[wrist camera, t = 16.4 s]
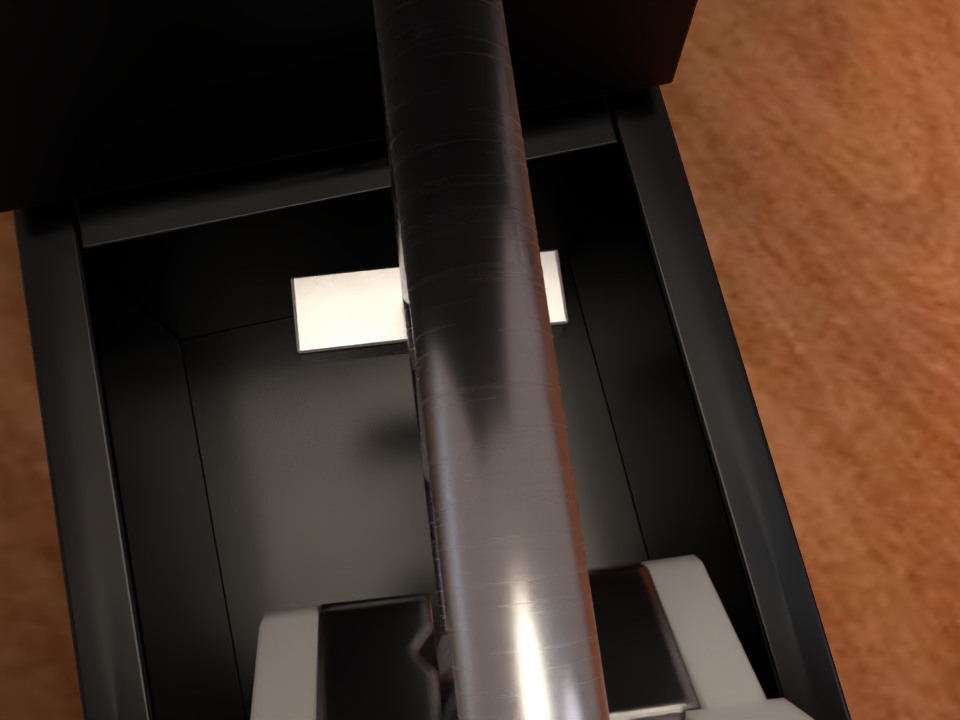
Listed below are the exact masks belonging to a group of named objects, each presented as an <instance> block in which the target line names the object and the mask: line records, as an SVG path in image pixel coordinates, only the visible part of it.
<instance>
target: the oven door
mask: <svg viewBox="0 0 960 720" xmlns="http://www.w3.org/2000/svg"><path fill="white" fill-rule="evenodd" d="M697 1H698V0H502V4H503V11H504V17H505V24H506V31H507V37H508V44H509V51H510V57H511V64H512V70H513V77H514V84H515V90H516V97H517V104H518V110H519V112H524V111H529V110H534V109H539V108H544V107H549V106H555V105H560V104H565V103H570V102H575V101H580V100H586V99H591V98H596V97H601V96H606V95H612V94H617V93H622V92H627V91H632V90H637V89H643V88H648V87H653V86H658V85H663V84H668V83H671V82H672V81H673V78H674V75H675V72H676V69H677V65H678V62H679V59H680V56H681V53H682V49H683V46H684V43H685V40H686V37H687V33H688V30H689V27H690V24H691V20H692V17H693V14H694V11H695V8H696V4H697ZM384 138H386V130H385V120H384V110H383V100H382V90H381V80H380V70H379V60H378V50H377V40H376V30H375V20H374V10H373V0H0V212H6V211H11V210H16V209H21V208H27V207H32V206H37V205H42V204H47V203H53V202H58V201H63V200H68V199H73V198H78V197H84V196H89V195H94V194H99V193H104V192H109V191H115V190H120V189H125V188H130V187H135V186H141V185H146V184H151V183H156V182H161V181H166V180H172V179H177V178H182V177H187V176H192V175H197V174H203V173H208V172H213V171H218V170H223V169H229V168H234V167H239V166H244V165H249V164H254V163H260V162H265V161H270V160H275V159H280V158H285V157H291V156H296V155H301V154H306V153H311V152H316V151H322V150H327V149H332V148H337V147H342V146H348V145H353V144H358V143H363V142H368V141H373V140H379V139H384Z"/></svg>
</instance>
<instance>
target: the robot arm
mask: <svg viewBox="0 0 960 720" xmlns="http://www.w3.org/2000/svg"><path fill="white" fill-rule="evenodd" d="M588 575H589V582H590V589H591V595H592V602H593V609H594V615H595V622H596V628H597V635H598V642H599V648H600V655H601V662H602V668H603V675H604V682H605V688H606V695H607V702H608V708H609V715H610V720H814V719H813V718H812V717H810V716H809V715H807V714H806V713H805V712H803V711H802V710H801V709H799V708H798V707H796V706H795V705H794V704H792V703H791V702H790V701H788V700H787V699H785V698H784V697H783V698H774V699H767V698H766V696H765V694H764V692H763V690H762V688H761V685H760V683H759V681H758V679H757V677H756V675H755V673H754V671H753V668H752V666H751V664H750V662H749V660H748V658H747V656H746V654H745V651H744V649H743V647H742V645H741V643H740V641H739V639H738V637H737V634H736V632H735V630H734V628H733V626H732V624H731V622H730V620H729V617H728V615H727V613H726V611H725V609H724V607H723V605H722V603H721V600H720V598H719V596H718V594H717V592H716V590H715V588H714V586H713V583H712V581H711V579H710V577H709V575H708V573H707V571H706V569H705V566H704V564H703V562H702V561H701V560H700V559H698V558H697V557H696V556H695V555H686V556H679V557H672V558H665V559H658V560H651V561H644V562H642V563H641V564H640V563H638V562H635V563H628V564H621V565H614V566H607V567H601V568H594V569H588ZM440 688H441V686H440V676H439V668H438V660H437V651H436V643H435V635H434V626H433V618H432V610H431V601H430V593H420V594H411V595H402V596H393V597H383V598H374V599H365V600H356V601H347V602H338V603H328V604H322V605H319V606H310V607H301V608H292V609H283V610H274V611H265V613H264V616H263V618H262V621H261V623H260V626H259V634H258V644H257V655H256V665H255V676H254V686H253V697H252V707H251V718H250V720H443V712H442V698H441V691H440Z"/></svg>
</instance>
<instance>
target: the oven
mask: <svg viewBox="0 0 960 720" xmlns="http://www.w3.org/2000/svg"><path fill="white" fill-rule="evenodd" d="M519 117H520V124H521V130H522V137H523V144H524V150H525V157H526V163H527V170H528V177H529V183H530V190H531V197H532V203H533V210H534V217H535V223H536V230H537V237H538V243H539V250H543V249H552V248H554V249H557V251H558V252H559V259H560V265H561V272H562V278H563V284H564V291H565V297H566V304H567V310H568V317H569V322H568V325H567V327H566V328H565V330H564V332H563V334H562V335H560V336H556V337H553V343H554V349H555V356H556V363H557V369H558V376H559V383H560V389H561V396H562V403H563V409H564V416H565V423H566V429H567V436H568V442H569V449H570V456H571V462H572V469H573V476H574V482H575V489H576V496H577V502H578V509H579V516H580V522H581V529H582V535H583V542H584V549H585V555H586V562H587V569H594V568H601V567H607V566H614V565H621V564H628V563H635V562H638V563H640V564H641V563H642V562H644V561H651V560H658V559H665V558H672V557H679V556H686V555H695V556H696V557H697V558H698V559H700V560H701V561H702V562H703V564H704V566H705V569H706V571H707V573H708V575H709V577H710V579H711V581H712V583H713V586H714V588H715V590H716V592H717V594H718V596H719V598H720V600H721V603H722V605H723V607H724V609H725V611H726V613H727V615H728V617H729V620H730V622H731V624H732V626H733V628H734V630H735V632H736V634H737V637H738V639H739V641H740V643H741V645H742V647H743V649H744V651H745V654H746V656H747V658H748V660H749V662H750V664H751V666H752V668H753V671H754V673H755V675H756V677H757V679H758V681H759V683H760V685H761V688H762V690H763V692H764V694H765V696H766V698H767V699H774V698H783V697H784V698H785V699H787V700H788V701H790V702H791V703H792V704H794V705H795V706H796V707H798V708H799V709H801V710H802V711H803V712H805V713H806V714H807V715H809V716H810V717H812V718H813V719H814V720H851V717H850V713H849V710H848V707H847V704H846V700H845V697H844V694H843V690H842V687H841V684H840V681H839V677H838V674H837V671H836V667H835V664H834V661H833V657H832V654H831V651H830V648H829V644H828V641H827V638H826V634H825V631H824V628H823V624H822V621H821V618H820V615H819V611H818V608H817V605H816V601H815V598H814V595H813V592H812V588H811V585H810V582H809V578H808V575H807V572H806V568H805V565H804V562H803V559H802V555H801V552H800V549H799V545H798V542H797V539H796V535H795V532H794V529H793V526H792V522H791V519H790V516H789V512H788V509H787V506H786V503H785V499H784V496H783V493H782V489H781V486H780V483H779V479H778V476H777V473H776V470H775V466H774V463H773V460H772V456H771V453H770V450H769V447H768V443H767V440H766V437H765V433H764V430H763V427H762V423H761V420H760V417H759V414H758V410H757V407H756V404H755V400H754V397H753V394H752V390H751V387H750V384H749V381H748V377H747V374H746V371H745V367H744V364H743V361H742V358H741V354H740V351H739V348H738V344H737V341H736V338H735V334H734V331H733V328H732V325H731V321H730V318H729V315H728V311H727V308H726V305H725V301H724V298H723V295H722V292H721V288H720V285H719V282H718V278H717V275H716V272H715V269H714V265H713V262H712V259H711V255H710V252H709V249H708V245H707V242H706V239H705V236H704V232H703V229H702V226H701V222H700V219H699V216H698V212H697V209H696V206H695V203H694V199H693V196H692V193H691V189H690V186H689V183H688V180H687V176H686V173H685V170H684V166H683V163H682V160H681V156H680V153H679V150H678V147H677V143H676V140H675V137H674V133H673V130H672V127H671V123H670V120H669V117H668V114H667V110H666V107H665V104H664V100H663V97H662V94H661V91H660V87H659V85H658V86H653V87H648V88H643V89H637V90H632V91H627V92H622V93H617V94H612V95H606V96H601V97H596V98H591V99H586V100H580V101H575V102H570V103H565V104H560V105H555V106H549V107H544V108H539V109H534V110H529V111H524V112H519ZM13 217H14V224H15V232H16V239H17V246H18V253H19V260H20V267H21V274H22V282H23V289H24V296H25V303H26V310H27V317H28V324H29V332H30V339H31V346H32V353H33V360H34V367H35V375H36V382H37V389H38V396H39V403H40V410H41V417H42V425H43V432H44V439H45V446H46V453H47V460H48V467H49V475H50V482H51V489H52V496H53V503H54V510H55V517H56V525H57V532H58V539H59V546H60V553H61V560H62V567H63V575H64V582H65V589H66V596H67V603H68V610H69V618H70V625H71V632H72V639H73V646H74V653H75V660H76V668H77V675H78V682H79V689H80V696H81V703H82V710H83V718H84V720H250V718H251V707H252V697H253V686H254V676H255V665H256V655H257V644H258V634H259V626H260V623H261V621H262V618H263V616H264V613H265V611H274V610H283V609H292V608H301V607H310V606H319V605H322V604H328V603H338V602H347V601H356V600H365V599H374V598H383V597H393V596H402V595H411V594H420V593H430V601H431V610H432V618H433V626H434V635H435V643H436V651H437V650H438V646H439V643H440V640H441V638H442V635H441V626H440V617H439V609H438V600H437V592H436V583H435V574H434V566H433V557H432V548H431V540H430V531H429V523H428V514H427V505H426V497H425V488H424V480H423V471H422V462H421V454H420V445H419V437H418V428H417V419H416V411H415V402H414V394H413V385H412V376H411V368H410V359H409V353H407V354H398V355H389V356H381V357H372V358H363V359H354V360H345V361H337V362H328V363H319V364H310V365H306V364H304V363H303V361H302V360H301V358H300V357H299V355H298V353H297V351H296V342H295V331H294V320H293V309H292V298H291V287H290V279H291V277H293V276H297V275H307V274H316V273H326V272H335V271H345V270H354V269H363V268H373V267H382V266H392V265H399V260H398V250H397V240H396V230H395V220H394V210H393V200H392V190H391V180H390V170H389V160H388V150H387V140H386V138H384V139H379V140H373V141H368V142H363V143H358V144H353V145H348V146H342V147H337V148H332V149H327V150H322V151H316V152H311V153H306V154H301V155H296V156H291V157H285V158H280V159H275V160H270V161H265V162H260V163H254V164H249V165H244V166H239V167H234V168H229V169H223V170H218V171H213V172H208V173H203V174H197V175H192V176H187V177H182V178H177V179H172V180H166V181H161V182H156V183H151V184H146V185H141V186H135V187H130V188H125V189H120V190H115V191H109V192H104V193H99V194H94V195H89V196H84V197H78V198H73V199H68V200H63V201H58V202H53V203H47V204H42V205H37V206H32V207H27V208H21V209H16V210H13Z"/></svg>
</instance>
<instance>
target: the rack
mask: <svg viewBox="0 0 960 720" xmlns="http://www.w3.org/2000/svg"><path fill="white" fill-rule="evenodd" d="M373 10H374V20H375V30H376V40H377V50H378V60H379V70H380V80H381V90H382V100H383V110H384V120H385V130H386V140H387V150H388V160H389V170H390V180H391V190H392V200H393V210H394V220H395V230H396V240H397V250H398V260H399V265H392V266H382V267H373V268H363V269H354V270H345V271H335V272H326V273H316V274H307V275H297V276H293V277H291V279H290V287H291V298H292V309H293V320H294V331H295V342H296V351H297V353H298V355H299V357H300V358H301V360H302V361H303V363H304V364H306V365H310V364H319V363H328V362H337V361H345V360H354V359H363V358H372V357H381V356H389V355H398V354H407V353H409V359H410V368H411V376H412V385H413V394H414V402H415V411H416V419H417V428H418V437H419V445H420V454H421V462H422V471H423V480H424V488H425V497H426V505H427V514H428V523H429V531H430V540H431V548H432V557H433V566H434V574H435V583H436V592H437V600H438V609H439V617H440V626H441V635H442V638H441V640H440V643H439V646H438V650H437V660H438V668H439V676H440V686H441V688H440V691H441V698H442V712H443V720H610V715H609V708H608V702H607V695H606V688H605V682H604V675H603V668H602V662H601V655H600V648H599V642H598V635H597V628H596V622H595V615H594V609H593V602H592V595H591V589H590V582H589V575H588V569H587V562H586V555H585V549H584V542H583V535H582V529H581V522H580V516H579V509H578V502H577V496H576V489H575V482H574V476H573V469H572V462H571V456H570V449H569V442H568V436H567V429H566V423H565V416H564V409H563V403H562V396H561V389H560V383H559V376H558V369H557V363H556V356H555V349H554V343H553V337H556V336H560V335H562V334H563V332H564V330H565V328H566V327H567V325H568V322H569V317H568V310H567V304H566V297H565V291H564V284H563V278H562V272H561V265H560V259H559V252H558V251H557V249H554V248H552V249H543V250H539V243H538V237H537V230H536V223H535V217H534V210H533V203H532V197H531V190H530V183H529V177H528V170H527V163H526V157H525V150H524V144H523V137H522V130H521V124H520V117H519V110H518V104H517V97H516V90H515V84H514V77H513V70H512V64H511V57H510V51H509V44H508V37H507V31H506V24H505V17H504V11H503V4H502V0H373Z"/></svg>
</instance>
